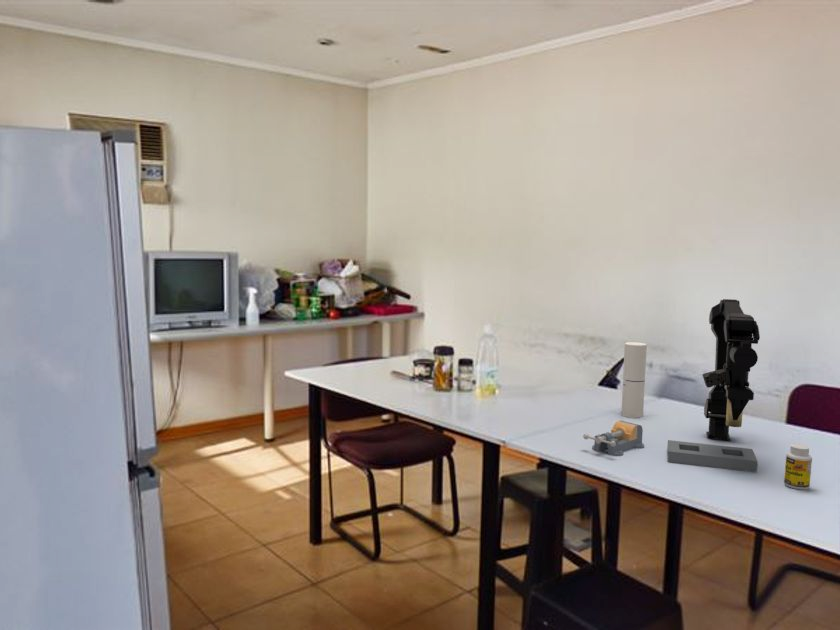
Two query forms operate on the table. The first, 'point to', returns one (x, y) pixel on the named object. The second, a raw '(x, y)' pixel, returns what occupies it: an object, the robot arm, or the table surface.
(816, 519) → the table surface
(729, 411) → the cylinder
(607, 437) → the vise
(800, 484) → the supplement bottle
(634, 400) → the cylindrical container
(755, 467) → the jig
